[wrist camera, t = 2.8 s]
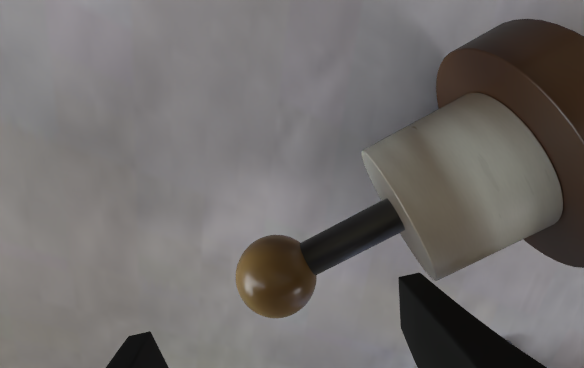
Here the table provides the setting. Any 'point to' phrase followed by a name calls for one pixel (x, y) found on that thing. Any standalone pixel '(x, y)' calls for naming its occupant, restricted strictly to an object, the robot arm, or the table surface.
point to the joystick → (460, 171)
